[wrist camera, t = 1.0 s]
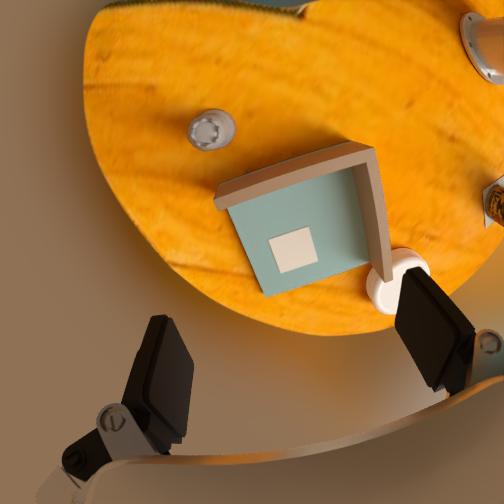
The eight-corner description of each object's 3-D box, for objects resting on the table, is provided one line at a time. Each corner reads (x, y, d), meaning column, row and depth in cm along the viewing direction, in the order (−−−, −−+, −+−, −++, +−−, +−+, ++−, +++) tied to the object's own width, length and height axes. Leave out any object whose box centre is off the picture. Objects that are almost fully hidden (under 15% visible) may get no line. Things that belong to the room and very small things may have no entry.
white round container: (410, 233, 34) (422, 244, 30) (425, 278, 37) (436, 290, 34) (354, 272, 36) (363, 286, 33) (377, 312, 40) (385, 326, 37)
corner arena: (351, 140, 28) (374, 147, 22) (374, 255, 35) (393, 280, 29) (218, 184, 30) (213, 200, 24) (265, 293, 37) (268, 322, 32)
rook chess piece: (244, 129, 27) (245, 132, 20) (214, 156, 28) (205, 170, 21) (215, 100, 25) (205, 94, 18) (186, 129, 27) (166, 134, 20)
